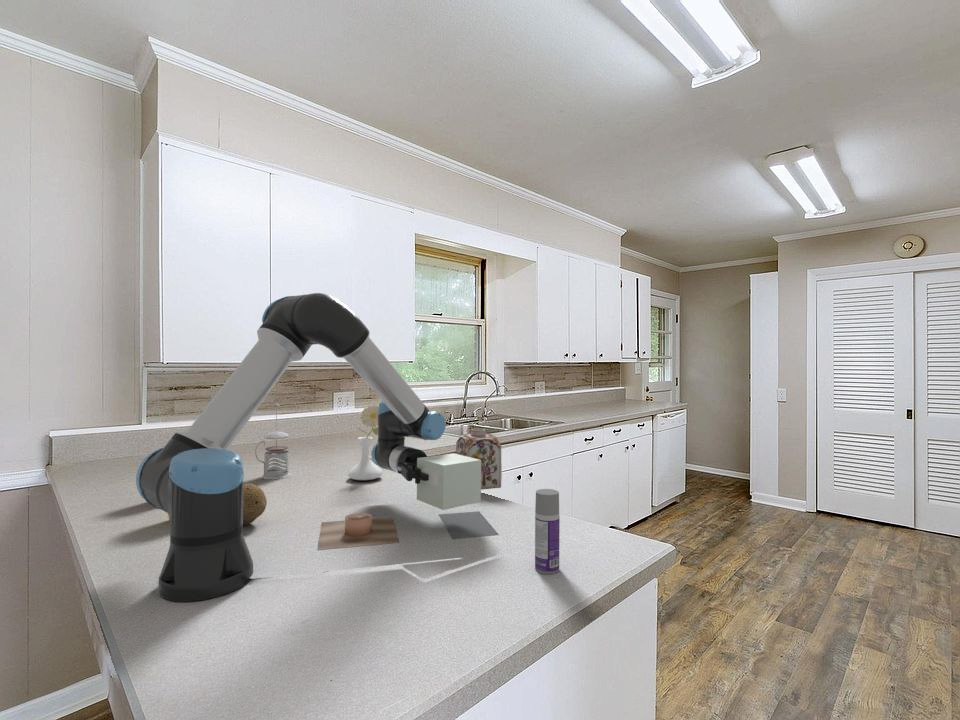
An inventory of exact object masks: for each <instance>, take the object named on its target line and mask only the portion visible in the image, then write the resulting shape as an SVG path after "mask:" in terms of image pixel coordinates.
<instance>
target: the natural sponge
mask: <svg viewBox="0 0 960 720" xmlns="http://www.w3.org/2000/svg"><path fill="white" fill-rule="evenodd" d="M267 503H268V502H267V498H266V494H265V492H264V490H263V489H261V487H260V486H258V485H257V484H253V483H245V484H244V483H243V526H247V525H251V524H252V523H253V522H254V521H255V520H256V519H258V518H259V517H260V516H261V515H263V514H264V512H265V511H266V508H267Z"/></svg>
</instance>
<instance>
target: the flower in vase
mask: <svg viewBox="0 0 960 720" xmlns="http://www.w3.org/2000/svg"><path fill="white" fill-rule="evenodd" d="M378 410H379V405H375V404H372V405H368V406H367V407H365V408H363V410H362V412H361V414H360V417H359V418H360V419H361V420H360V422H362V425H365V426H366V427H369V428H371V430H370V431H369V433H368V432H367V431H365V430H362V429H360V428H359V427H357V429H358V430H359V431H361V432H362V433H365V434H367V436H360V437H357V440H358V441H359V443H360V447H361V458H360V460H359V462H358V463H356V465H354V466H353V467H352V468H351V469H350V470H349V471H348V473H347V476H348V478H350V479H352V480H356V481H371V480H375V479H378V478H380V477H382V475H383V471H382V468H381V467H380V466H378V465H376V464H375V463H374V462H373V461H372V460H371V459H370V456H369V454H370V453H369V452H370V445H371V442H372V441H373V437H371V436H370V435H371V433H372V432H373V434H375V435H376V436H378Z"/></svg>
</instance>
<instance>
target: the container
mask: <svg viewBox="0 0 960 720" xmlns="http://www.w3.org/2000/svg"><path fill="white" fill-rule="evenodd" d="M534 507H535V509H534V510H535V511H534V512H535V514H534V523H535V524H534V534H535V535H534V569H535V571H536V572H537V573H540V574H542V575H543V574H544V575H554V574H557V573H558V572H559V571H560V522H561V521H560V492H559V491H558V490H556V489H551V488H540V489H537V490H536V491H535V506H534Z"/></svg>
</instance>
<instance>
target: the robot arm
mask: <svg viewBox="0 0 960 720" xmlns="http://www.w3.org/2000/svg"><path fill="white" fill-rule="evenodd" d="M261 318H262V319H261V322H262V324H261V325H260V326H259V328H258V329H257V330H256V332H257V335H256V336H257V339H258V340H257V342H256V343H255V344H254V346H253V347H252V348H251V349H250V350H249V352H248V353H247V354H246V356H244V358H243V360H242V361H241V362H240V363H239V364H238V366H237V367H236V369H234V371H233V372H232V373H231V375H230V376H229V377H228V379H227V380H226V381H225V382H224V384H222V386H221V387H220V389H218V392H216V394H215V395H214V396H213V398H212V399H211V400H210V402H209V403H208V404H207V405H206V407H204V409H203V410H202V412H201V413H200V415H198V417H197V418H196V419H195V421H193V423H192V424H191V426H190V427H189V428H187V429H183V430H180V431H176V432H175V433H174V434H173V435H172V437H171V438H170V439H169V440H168V442H166V443H165V445H164V446H163V447H161V448H158V449H156V450H153V451H152V452H150V453H149V454H148V455H147V456H146V457H145V458H144V459H143V460H141V463H140V465H139V466H138V469H137V471H136V475H135V486H136V489H137V492H138V493H139V495H140V496H141V497H142V498H143V500H144V501H145V502H146V503H147V504H148V505H150V506H151V507H153V508H156V509H157V510H161V511H163V512H165V513H167V514H168V513H169V514H170V520H169V536H170V537H169V538H170V539H169V541H170V542H169V547H168V551H167V554H166V557H165V559H164V562H163V565H162V568H161V571H160V574H159V577H158V582H157V585H158V586H157V587H158V595H159V596H160V597H162V598H163V599H165V600H169V601H174V602H195V601H203V600H208V599H213V598H217V597H220V596H224V595H227V594H229V593H231V592H235V591H236V590H238V589H240V588H242V587H243V586H245V585H246V584H248V583H249V582H251V580H252V578H251V577H252V575H253V573H254V561H253V558H252V556H251V553H250V551H249V548H248V547H249V546H248V545H247V543H246V540H245V539H246V538H245V537H244V530H243V529H244V525H243V484H244V478H245V472H244V468H243V460H242V458H241V456H240V455H239V454H238V453H236V452H234V451H232V450H229V448H230V447H231V445H232V444H233V442H234V441H235V440H236V439H237V437H239V434H240V433H241V432H242V431H243V429H244V428H245V426H246V425H247V424H248V422H249V420H251V418H252V417H253V415H254V414H255V412H257V410H258V408H259V407H260V406H261V404H262V403H263V401H265V399H266V398H267V396H268V395H269V393H270V392H271V391H272V390H273V388H274V387H275V385H276V384H277V383H278V381H279V380H280V378H281V377H282V375H283V374H285V373H284V372H286V370H287V369H288V367H289V366H290V364H291V363H293V362H299V361H301V360H302V359H303V358H304V356H305V355H306V354H307V352H308V351H309V350H310V349H311V347H312V346H313V345H320V346H323V347H325V348H327V349H328V350H329V351H331V353H332V354H333V355H334V356H335V357H337V358H339V359H341V358H342V359H344V360H345V361H346V363H348V364H349V366H350V367H352V369H353V370H354V371H355V372H356V373H357V374H358V375H359V377H361V378H362V380H363V381H364V382H365V383H366V384H367V385H368V387H370V388H369V389H371V390H372V391H373V392H374V394H376V395H377V396H378V398H379V399H380V400H381V401H380V402H379V404H378V407H379V410H378V425H377V427H378V435H377V443H375V444H374V445H373V448H372V449H371V451H370V452H371V453H370V454H371V455H370V456H371V461H372V463H373V464H375V465H376V466H377V467H379V468H380V469H383V470H384V469H385V470H388V471H391V472H394V473H397V474H400V475H401V476H402V478H403V477H404V479H405V480H406V481H407V482H412V481H413V479H414V483H415V485H417V484H419V483H420V480H421V481H423V482H426V483H429V484H432V485H435V486H439V484H440V474H439V473H435V472H432V471H429V470H426V469H421V472H420V468H417V458H422V457H428V456H427V454H426V452H425V451H424V450H422V449H418V448H414V447H411V446H407V445H405V439H406V437H407V438H413V439H418V440H424V441H428V440H429V441H437V440H439V439H441V437H442V436H443V435H444V433H445V430H446V425H447V424H446V420H445V417H444V415H443V414H442V413H440V412H438V411H435V410H430V409H429V408H428V407H427V406H426V405H425V403H424V402H423V401H422V400H421V399H420V397H419V396H418V395H417V393H416V392H415V391H414V390H413V389H412V387H411V386H410V385H409V384H408V383H407V382H406V380H405V379H404V377H402V375H401V374H400V373H399V372H398V371H397V369H396V367H394V365H392V363H391V362H390V361H389V360H388V358H386V356H385V354H384V353H382V351H381V350H380V348H379V347H378V346H377V345H376V344H375V343H374V341H373V340H372V339H371V337H370V330H369V328H368V327H367V326H366V325H365V323H364V322H363V321H362V319H360V318H359V317H358V315H357V314H356V313H355V312H354V311H352V310H351V309H350V308H349V307H348V306H347V305H346V304H345V303H343V302H342V301H340V300H339V299H338V298H336V297H334V296H331V294H326V293H321V292H313V293H309V294H301V295H289V296H287V295H286V296H284V297H281V298H278V299H276V300H274V301H272V302H271V303H270V304H269V305H267V307H266V308H265V310H264V312H263V313H262V317H261Z"/></svg>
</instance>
